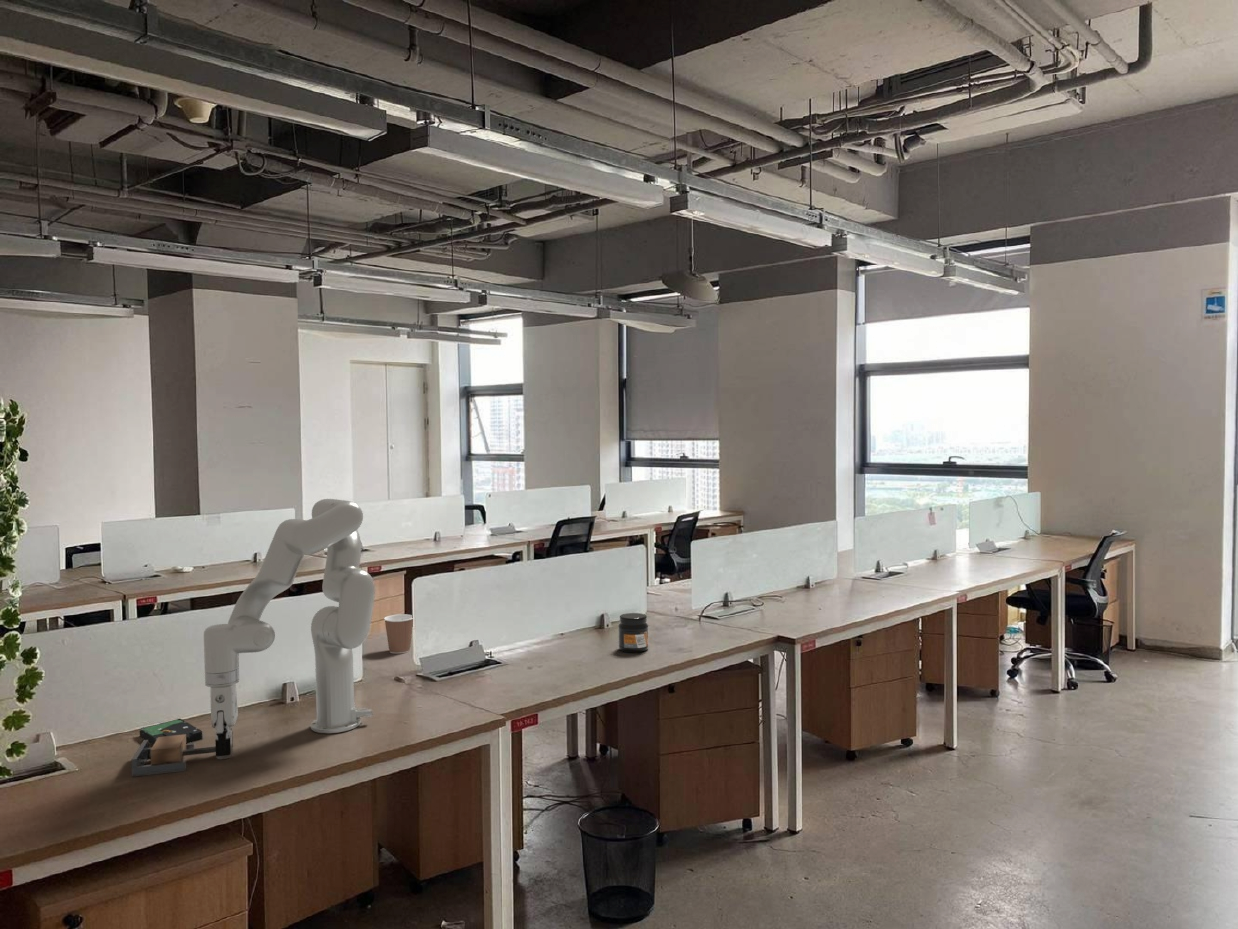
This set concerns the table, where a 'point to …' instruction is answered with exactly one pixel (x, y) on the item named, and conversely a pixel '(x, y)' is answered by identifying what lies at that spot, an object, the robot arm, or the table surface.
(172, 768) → the grey u-shaped frame
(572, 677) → the table surface
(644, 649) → the supplement container
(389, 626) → the coffee cup
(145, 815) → the table surface
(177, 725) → the disk drive
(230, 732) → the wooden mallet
